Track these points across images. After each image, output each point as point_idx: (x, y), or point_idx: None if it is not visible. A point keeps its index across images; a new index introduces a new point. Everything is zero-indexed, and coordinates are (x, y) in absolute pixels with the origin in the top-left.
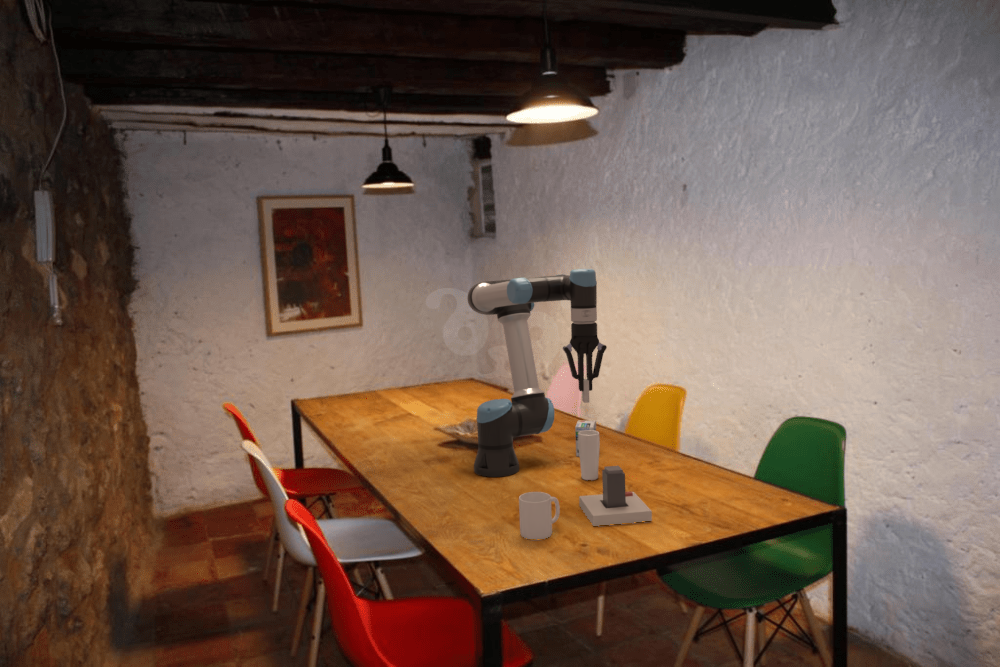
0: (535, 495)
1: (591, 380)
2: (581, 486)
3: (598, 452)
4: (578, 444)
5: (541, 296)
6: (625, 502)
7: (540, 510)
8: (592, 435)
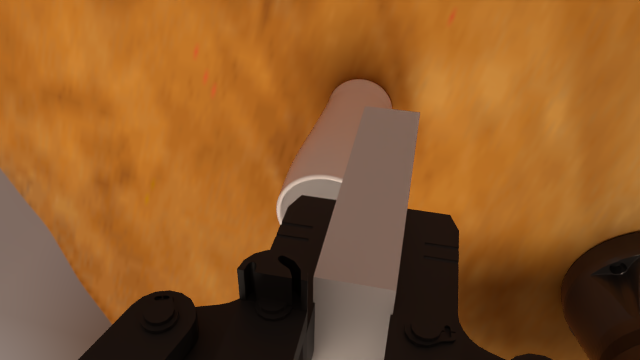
0: None
1: (277, 250)
2: (424, 30)
3: (308, 136)
4: None
5: None
6: None
7: None
8: (321, 174)
